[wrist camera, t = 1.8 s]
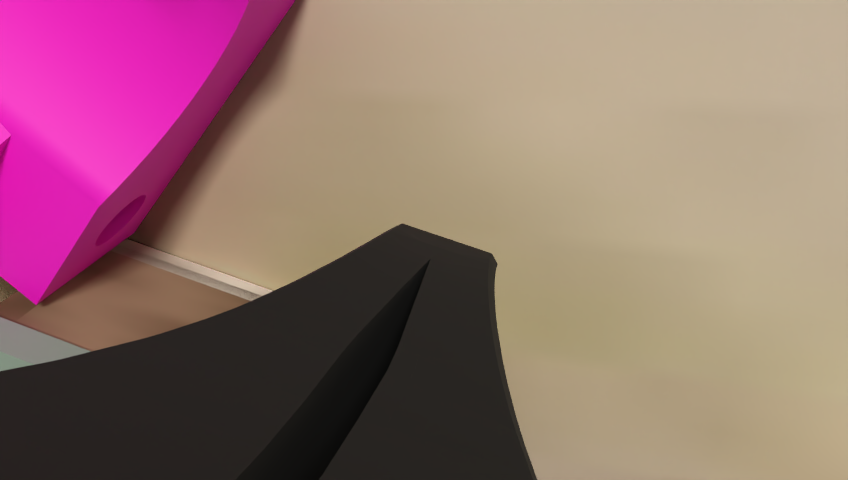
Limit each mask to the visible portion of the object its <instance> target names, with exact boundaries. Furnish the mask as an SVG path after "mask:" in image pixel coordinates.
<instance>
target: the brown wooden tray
mask: <svg viewBox="0 0 848 480" xmlns="http://www.w3.org/2000/svg"><path fill="white" fill-rule="evenodd" d="M270 292H272V290H269V289H266V288H263V287H261V286H258V285H255V284H252V283H249V282H247V281H244V280H241V279H238V278H235V277H232V276H230V275H227V274H224V273H221V272H218V271H216V270H213V269H210V268H207V267H204V266H202V265H199V264H196V263H193V262H190V261H187V260H185V259H182V258H179V257H176V256H173V255H171V254H168V253H165V252H162V251H159V250H157V249H154V248H151V247H148V246H145V245H142V244H140V243H137V242H134V241H131V240H128V239H125V240H124V241H122V242H121V243H120V244H118V245H117V246H116V247H114V248H113V249H111V250H110V251H109V252H107V253H106V254H105V255H103V256H102V257H101V258H99V259H98V260H97V261H95V262H94V263H93V264H91V265H90V266H88V267H87V268H86V269H84V270H83V271H82V272H80V273H79V274H78V275H76V276H75V277H74V278H72V279H71V280H70V281H68V282H67V283H66V284H64V285H63V286H61V287H60V288H59V289H57V290H56V291H55V292H53V293H52V294H51V295H49V296H48V297H47V298H45V299H44V300H43V301H41V302H40V303H38V304H37V305H35V304H34V303H33V302H32V301H30V300H29V299H28V298H27V297H25V296H24V295H23V294H22V293H21V292H19V291H17V292H15V293H14V294H12V295H11V296H10V297H8V298H7V299H5V300H4V301H2V302H1V303H0V317H2V318H4V319H7V320H9V321H12V322H15V323H17V324H20V325H23V326H25V327H28V328H31V329H33V330H36V331H38V332H41V333H44V334H46V335H49V336H52V337H54V338H57V339H60V340H62V341H65V342H67V343H70V344H73V345H75V346H78V347H81V348H83V349H86V350H89V351H95V350H99V349H103V348H107V347H111V346H115V345H119V344H123V343H127V342H131V341H135V340H139V339H143V338H147V337H150V336H154V335H157V334H161V333H164V332H167V331H170V330H173V329H176V328H179V327H182V326H185V325H188V324H191V323H194V322H198V321H201V320H204V319H207V318H209V317H212V316H215V315H217V314H220V313H223V312H226V311H228V310H231V309H233V308H236V307H238V306H241V305H243V304H245V303H248V302H250V301H252V300H254V299H257V298H259V297H261V296H263V295H266V294H268V293H270Z"/></svg>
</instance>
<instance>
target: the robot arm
mask: <svg viewBox="0 0 848 480" xmlns="http://www.w3.org/2000/svg"><path fill="white" fill-rule="evenodd" d="M496 267H497V262H496V260H495V259H494V257H493V255H492V254H491V253H488V252H486V251H483V250H480V249H477V248H474V247H471V246H468V245H465V244H462V243H459V242H456V241H453V240H450V239H447V238H444V237H441V236H438V235H435V234H432V233H429V232H426V231H423V230H420V229H417V228H414V227H411V226H408V225H405V224H400V225H398V226H396V227H394V228H392V229H390V230H388V231H386V232H384V233H383V234H381V235H379V236H378V237H376V238H374V239H372V240H371V241H369V242H367V243H365V244H364V245H362V246H360V247H358V248H357V249H355V250H353V251H351V252H349V253H348V254H346V255H344V256H342V257H341V258H339V259H337V260H335V261H333V262H331V263H329V264H327V265H325V266H323V267H321V268H320V269H318V270H316V271H314V272H312V273H310V274H308V275H306V276H304V277H302V278H300V279H298V280H296V281H294V282H292V283H290V284H288V285H286V286H284V287H281V288H279V289H277V290H275V291H272V292H270V293H268V294H266V295H263V296H261V297H259V298H257V299H254V300H252V301H250V302H248V303H245V304H243V305H241V306H238V307H236V308H233V309H231V310H228V311H226V312H223V313H220V314H217V315H215V316H212V317H209V318H207V319H204V320H201V321H198V322H194V323H191V324H188V325H185V326H182V327H179V328H176V329H173V330H170V331H167V332H164V333H161V334H157V335H154V336H150V337H147V338H143V339H139V340H135V341H131V342H127V343H123V344H119V345H115V346H111V347H107V348H103V349H99V350H95V351H91V352H87V353H83V354H80V355H76V356H72V357H68V358H64V359H59V360H55V361H50V362H45V363H40V364H35V365H30V366H24V367H19V368H14V369H9V370H4V371H0V480H537V478H536V475H535V473H534V470H533V467H532V464H531V461H530V459H529V456H528V453H527V450H526V447H525V444H524V441H523V438H522V435H521V432H520V428H519V425H518V422H517V418H516V415H515V411H514V407H513V403H512V399H511V395H510V392H509V388H508V384H507V379H506V375H505V370H504V365H503V360H502V354H501V348H500V342H499V336H498V330H497V321H496V312H495V296H494V283H495V272H496Z"/></svg>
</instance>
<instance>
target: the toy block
mask: <svg viewBox="0 0 848 480" xmlns="http://www.w3.org/2000/svg"><path fill="white" fill-rule="evenodd" d="M294 2H295V0H0V276H1V277H2V278H3V279H4V280H6V281H7V282H8V283H9V284H11V285H12V286H13V287H14V288H16V289H17V290H18V291H19V292H21V293H22V294H23V295H24V296H25V297H27V298H28V299H29V300H30V301H32V302H33V303H34V304H35V305H37V304H38V303H40V302H41V301H43V300H44V299H45V298H47V297H48V296H49V295H51V294H52V293H53V292H55V291H56V290H57V289H59V288H60V287H61V286H63V285H64V284H66V283H67V282H68V281H70V280H71V279H72V278H74V277H75V276H76V275H78V274H79V273H80V272H82V271H83V270H84V269H86V268H87V267H88V266H90V265H91V264H93V263H94V262H95V261H97V260H98V259H99V258H101V257H102V256H103V255H105V254H106V253H107V252H109V251H110V250H111V249H113V248H114V247H116V246H117V245H118V244H120V243H121V242H122V241H124V240H125V239H126V238H128V237H129V236H130V235H132V234H133V233H134V232H135V231H136V230H137V228H138V227H139V225H140V224H141V222H142V221H143V220H144V218H145V217H146V215H147V214H148V212H149V211H150V209H151V208H152V207H153V205H154V204H155V202H156V201H157V199H158V198H159V196H160V195H161V194H162V192H163V191H164V189H165V188H166V186H167V185H168V183H169V182H170V181H171V179H172V178H173V176H174V175H175V173H176V172H177V171H178V169H179V168H180V166H181V165H182V163H183V162H184V160H185V159H186V158H187V156H188V155H189V153H190V152H191V150H192V149H193V147H194V146H195V145H196V143H197V142H198V140H199V139H200V137H201V136H202V134H203V133H204V132H205V130H206V129H207V127H208V126H209V124H210V123H211V121H212V120H213V119H214V117H215V116H216V114H217V113H218V111H219V110H220V108H221V107H222V106H223V104H224V103H225V101H226V100H227V98H228V97H229V96H230V94H231V93H232V91H233V90H234V88H235V87H236V85H237V84H238V83H239V81H240V80H241V78H242V77H243V75H244V74H245V72H246V71H247V70H248V68H249V67H250V65H251V64H252V62H253V61H254V59H255V58H256V57H257V55H258V54H259V52H260V51H261V49H262V48H263V46H264V45H265V44H266V42H267V41H268V39H269V38H270V36H271V35H272V34H273V32H274V31H275V29H276V28H277V26H278V25H279V23H280V22H281V21H282V19H283V18H284V16H285V15H286V13H287V12H288V10H289V9H290V8H291V6H292V5H293V3H294Z"/></svg>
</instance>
